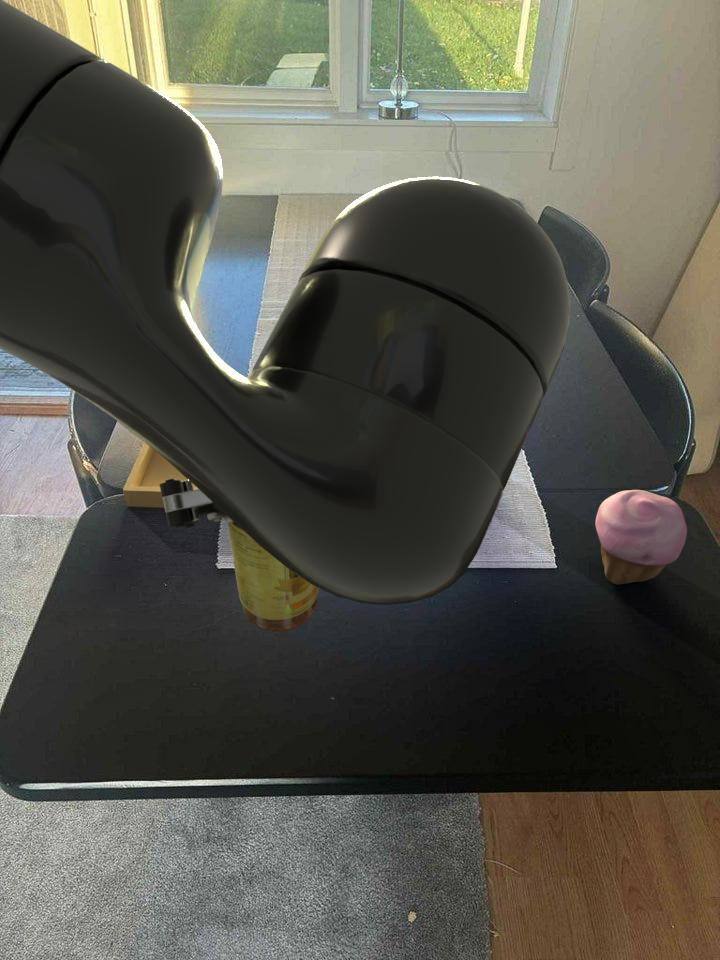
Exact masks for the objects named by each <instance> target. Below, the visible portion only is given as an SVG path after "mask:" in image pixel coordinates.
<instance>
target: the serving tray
mask: <svg viewBox="0 0 720 960" xmlns="http://www.w3.org/2000/svg"><path fill="white" fill-rule="evenodd" d="M168 479H174V480H182V481H185V480H188V479H187V478H186V477H185V476H184V475H183V474H181V473H180V472H179V471H178V470H177V469H176V468H174V467H173V466H172V465H171V464H170V463H169V462H167V461H166V460H165V459H164V458H163V457H162V456H161V455H159V454H158V453H157V452H156V451H155V450H154V449H152V448H151V447H150V446H148V445H147V444H146V443H145V442H143V445H142V447H141V450H139V453H138V455H137V458H136V460H135V463H134V464H133V466H132V468H131V471H130V473H129V476H128V478H127V480H126V482H125V484H124V486H123V488H122V493H123V497H124V501H125V504H126V507H127V508H128V507H130V508H154V509H155V508H157V509H165V508H164V503H163V499H162V494H161V489H160V485H159V484H161V483H165V480H168ZM192 486H193V490H196V489H198V488H197V487H196V486H195V485H194V484H193V483H192Z"/></svg>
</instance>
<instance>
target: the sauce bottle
mask: <svg viewBox="0 0 720 960" xmlns="http://www.w3.org/2000/svg"><path fill="white" fill-rule="evenodd" d="M245 377H246V378H247V377H248V376H245ZM227 527H228V534H229V541H230V547H231V553H232V554H231V555H232V560H233V567H234V574H235V580H236V586H237V593H238V597H239V600H240V603H241V605H242V609H243V612H244V614H245V616H246V618H247V620H248V622H250V623H251V624H252V625H253V626H255V627H256V628H257V629H261V630H264V631H266V632H274V633H275V632H281V633H282V632H288V631H290V630H294V629H296V628H298V627H300V626H301V625H303V624H304V623H305V622H306V621H308V619H310V617H312V615H313V613H315V609H316V607H317V605H318V597H319V596H318V595H319V592H320V591H319V590H320V588H318V587H316V586H314V585H312V584H310V583H309V582H307V581H306V580H304V579H302V578H301V577H299V576H298V575H296V574H295V573H293V572H292V571H291V570H290V569H288V568H287V567H286V566H284V565H283V564H282V563H281V562H279V561H278V560H277V559H276V558H274V557H273V556H272V555H271V554H269V553H268V552H267V551H266V550H264V549H263V548H262V547H261V546H260V545H259V544H258V543H257V542H255V541H254V540H253V539H252V538H251V537H250V536H249V535H248V534H247V533H246V532H244V531H243V530H242V529H241V528H240V527H239V526H238V525H237V524H236V523H235V522H233V523H227Z"/></svg>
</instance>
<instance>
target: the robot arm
mask: <svg viewBox="0 0 720 960" xmlns="http://www.w3.org/2000/svg"><path fill="white" fill-rule="evenodd" d="M223 183H224V172H223V164H222V159H221V155H220V153H219V149H218V146H217V144H216V143H215V140H214V139H213V138H212V135H211V134H210V133H209V131H208V130H207V129H206V128H205V126H204V125H203V124H202V123H201V122H200V121H199V120H198V119H197V118H196V117H195V116H194V115H192V114H191V113H190V112H189V111H188V110H186V109H185V108H183V107H182V106H181V105H179V104H178V103H176V102H175V101H174V100H173V99H171V98H170V97H168V96H167V95H165V94H163V93H162V92H160V91H158V90H157V89H155V88H154V87H152V86H150V85H149V84H147V82H144V81H142V80H141V79H140V78H138V77H135V76H134V75H133V74H130V73H128V72H127V71H125V70H123V69H122V68H120V67H118V66H116V65H114V64H113V63H112V62H107V60H106V59H105V58H103V57H101V56H100V55H97V54H96V53H94V52H92V51H91V50H89V49H87V48H85V47H84V46H82V45H80V44H78V43H77V42H75V41H74V40H71V39H70V38H69V37H66V36H65V35H64V34H61V33H59V32H58V31H56V30H54V29H53V28H51V27H49V26H48V25H46V24H44V23H43V22H41V21H40V20H37V19H36V18H34V17H32V16H31V15H29V14H27V13H25V12H24V11H22V10H20V9H19V8H17V7H15V6H14V5H12V4H10V3H8V2H7V1H5V0H0V350H2V351H4V352H5V353H8V354H10V355H11V356H13V357H15V358H17V359H19V360H21V361H23V362H25V363H26V364H27V365H30V366H32V367H33V368H35V369H37V370H39V371H40V372H42V373H44V374H45V375H47V376H49V377H51V378H52V379H54V380H56V381H57V382H59V383H60V384H62V385H64V386H66V388H69V389H70V390H72V391H73V392H74V393H76V394H77V395H79V396H81V397H82V398H84V399H85V400H86V401H88V402H90V403H91V404H92V405H94V406H95V407H97V408H98V409H100V410H101V411H102V412H104V413H105V414H106V415H108V416H109V417H111V418H112V419H113V420H115V421H116V422H117V423H119V424H120V425H121V426H123V427H124V428H125V429H126V430H128V431H129V432H130V433H131V434H133V435H134V436H135V437H136V438H138V439H139V440H141V441H142V443H144V442H145V443H146V444H147V445H148V446H150V447H151V448H152V449H154V450H155V451H156V452H157V453H158V454H159V455H161V456H162V457H163V458H164V459H165V460H166V461H167V462H169V463H170V464H171V465H172V466H173V467H174V468H176V469H177V470H178V471H179V472H180V473H181V474H183V475H184V476H185V477H186V478H187V479H188V480H185V481H182V480H174V479H168V480H165V483H161V484H159V485H160V489H161V494H162V499H163V503H164V508H163V509H164V513H165V516H166V521H167V526H168V527H172V528H173V527H175V528H182V527H185V528H186V529H189V528H192V527H195V525H196V524H200V520H201V518H200V516H201V515H205V516H206V517H207V522H210V521H213V522H214V523H216V522H221V521H222V520H223V521H224V522H225V523H226V524H228V523H233V522H235V523H236V524H237V525H238V526H239V527H240V528H241V529H242V530H243V531H244V532H246V533H247V534H248V535H249V536H250V537H251V538H252V539H253V540H254V541H255V542H257V543H258V544H259V545H260V546H261V547H262V548H263V549H264V550H266V551H267V552H268V553H269V554H271V555H272V556H273V557H274V558H276V559H277V560H278V561H279V562H281V563H282V564H283V565H284V566H286V567H287V568H288V569H290V570H291V571H292V572H293V573H295V574H296V575H298V576H299V577H301V578H302V579H304V580H306V581H307V582H309V583H310V584H312V585H314V586H316V587H318V588H319V590H322V591H324V592H326V593H328V594H331V595H333V596H335V597H338V598H341V599H344V600H345V599H346V600H350V601H353V602H357V603H360V604H366V605H367V604H368V605H377V606H390V605H400V604H401V605H402V604H411V603H414V602H418V601H421V600H425V599H428V598H431V597H434V596H436V595H438V594H440V593H442V592H443V591H445V590H447V589H449V588H451V587H452V586H453V585H454V584H456V583H457V582H458V581H459V580H460V579H461V578H462V577H463V575H464V574H465V573H466V572H467V570H468V568H469V567H470V565H471V564H472V562H473V560H474V559H475V557H476V556H477V554H478V552H479V550H480V548H481V545H482V543H483V541H484V538H485V536H486V534H487V532H488V530H489V528H490V526H491V523H492V520H493V518H494V516H495V514H496V511H497V509H498V507H499V504H500V501H501V498H502V496H503V492H504V490H505V488H506V486H507V484H508V482H509V480H510V477H511V475H512V473H513V470H514V468H515V466H516V463H517V461H518V459H519V457H520V454H521V451H522V449H523V447H524V445H525V443H526V440H527V438H528V435H529V433H530V430H531V428H532V426H533V423H534V421H535V419H536V417H537V415H538V412H539V409H540V407H541V405H542V400H543V399H544V397H545V396H546V394H547V391H548V388H549V386H550V384H551V382H552V380H553V377H554V375H555V372H556V369H557V367H558V365H559V363H560V360H561V358H562V354H563V352H564V348H565V344H566V340H567V336H568V332H569V327H570V322H571V321H570V319H571V294H570V293H571V292H570V287H569V282H568V278H567V274H566V270H565V267H564V265H563V261H562V258H561V257H560V254H559V253H558V250H557V248H556V246H555V244H554V243H553V241H552V240H551V239H550V237H549V236H548V234H547V233H546V232H545V230H544V229H543V228H542V226H541V225H540V224H539V223H538V222H537V221H536V220H535V218H534V217H533V216H532V215H531V214H530V213H528V212H527V211H526V210H525V209H524V208H523V207H522V206H520V205H519V204H517V203H516V202H514V201H513V200H511V199H510V198H508V197H507V196H505V195H503V194H501V193H500V192H498V191H497V190H495V189H492V188H490V187H487V186H485V185H482V184H479V183H475V182H472V181H469V180H464V179H458V178H454V177H453V178H452V177H443V176H442V177H441V176H440V177H439V176H432V177H431V176H428V177H425V176H424V177H417V178H408V179H404V180H398V181H395V182H392V183H389V184H386V185H383V186H381V187H378V188H376V189H373V190H372V191H370V192H368V193H366V194H364V195H362V196H360V197H359V198H358V199H356V200H354V201H353V202H351V203H350V204H349V205H348V206H346V207H345V209H343V210H342V211H341V212H340V213H339V214H338V215H337V216H336V217H335V218H334V219H333V220H332V221H331V223H330V224H329V226H328V227H327V228H326V230H325V231H324V233H323V234H322V236H321V238H320V239H319V241H318V242H317V245H316V247H315V248H314V250H313V253H312V254H311V256H310V258H309V260H308V261H307V264H306V266H305V268H304V269H303V270H302V272H301V275H300V277H299V279H298V281H297V284H296V285H295V287H294V288H293V290H292V292H291V294H290V296H289V298H288V300H287V302H286V303H285V306H284V308H283V310H282V311H281V313H280V315H279V317H278V319H277V321H276V323H275V325H274V327H273V329H272V330H271V333H270V335H269V337H268V339H267V340H266V342H265V344H264V346H263V348H262V350H261V352H260V353H259V355H258V358H257V359H256V362H255V363H254V365H253V368H252V369H251V373H249V375H248V376H245V375H243V374H240V372H238V371H237V370H235V369H234V368H232V367H231V366H230V365H228V364H227V363H226V362H225V360H223V359H222V358H221V357H220V356H219V355H218V354H217V353H216V351H214V349H213V348H212V347H211V345H210V344H209V342H208V341H207V340H206V338H205V337H204V335H203V334H202V332H201V330H200V327H198V324H197V322H196V320H195V304H196V300H197V299H196V298H197V293H198V292H197V291H198V288H199V284H200V281H201V278H202V274H203V270H204V267H205V263H206V259H207V257H208V254H209V251H210V248H211V245H212V241H213V237H214V233H215V231H216V227H217V223H218V217H219V212H220V207H221V203H222V197H223ZM246 377H247V378H246ZM192 483H193V484H194V485H195V486H196V487H197V488H198V489H196V490H193V486H192Z"/></svg>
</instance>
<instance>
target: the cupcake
mask: <svg viewBox="0 0 720 960" xmlns="http://www.w3.org/2000/svg"><path fill="white" fill-rule="evenodd" d="M687 527H688V526H687V522H686V519H685V516H684V513H683V510H682V508H681V507H680V505H679V504H678V503H677V502H676V501H674V500H672V499H671V498H670V497H668V496H667V497H666V496H664V495H663V496H662V495H659V494H657V493H653V492H650V491H647V490H641V489H631V490H628V489H627V490H621V491H619V492H616V493H614V494H612V495H610V496H609V497H607V498H606V499H604V501H602V502H601V504H600V505H599V507H598V510H597V513H596V517H595V530H596V532H597V533H596V534H597V536H598V539H599V542H600V554H601V561H602V565H603V568H604V575H605V578H606V580H607V581H608V582H610V583H611V584H613V585H625V584H631V583H636V582H637V583H642V582H646V581H648V580H651V579H653V578H655V577H656V576H658V575H659V574H660V573H661V572H662V570H663V569H664V568H665V567H666V566H667V565H669V564H672V563H674V562H675V561H677V560H678V558H679V556H681V553H682V550H683V549H684V546H685V543H686V539H687V536H688V535H687V534H688V528H687Z"/></svg>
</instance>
